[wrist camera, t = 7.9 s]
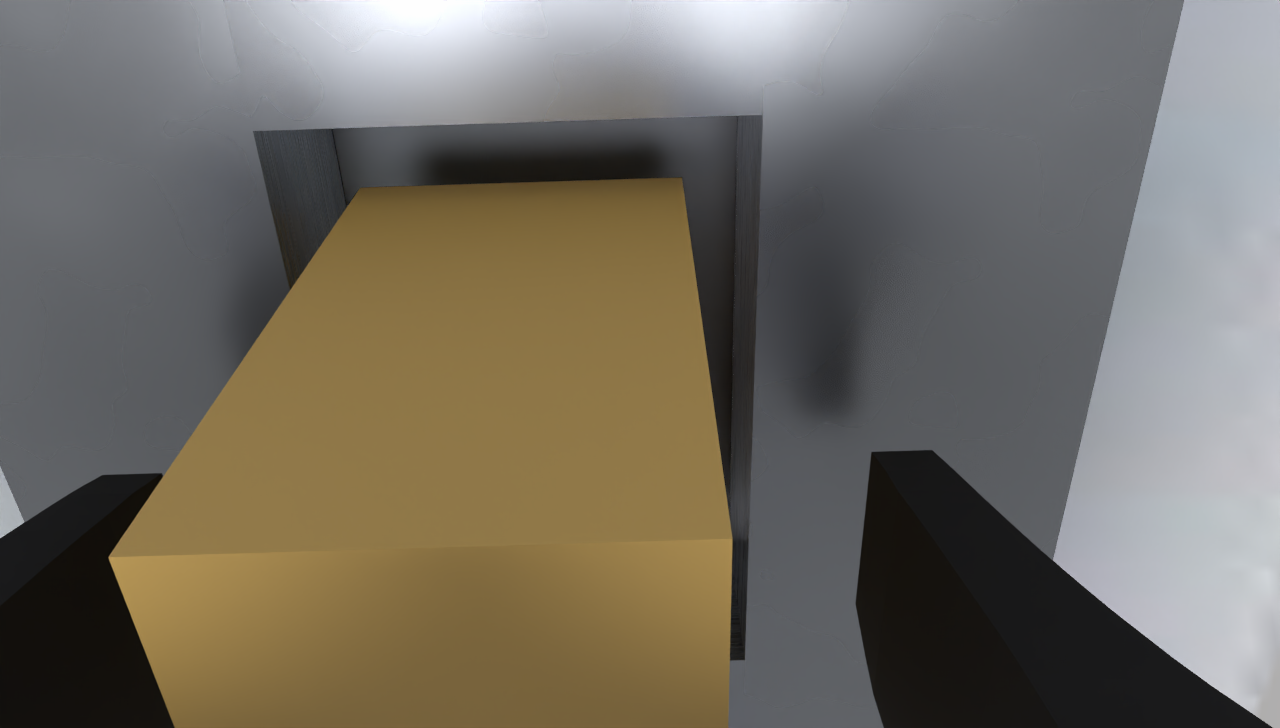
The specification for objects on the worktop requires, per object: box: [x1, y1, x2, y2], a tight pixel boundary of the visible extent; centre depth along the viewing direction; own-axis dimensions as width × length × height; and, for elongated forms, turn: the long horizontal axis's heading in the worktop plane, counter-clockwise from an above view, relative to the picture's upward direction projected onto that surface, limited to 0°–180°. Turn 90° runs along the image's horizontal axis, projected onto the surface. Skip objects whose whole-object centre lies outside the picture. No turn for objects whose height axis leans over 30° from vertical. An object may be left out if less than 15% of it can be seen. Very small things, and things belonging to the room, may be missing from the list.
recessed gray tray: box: [0, 0, 1184, 728], centre depth 12 cm, size 13×13×2 cm
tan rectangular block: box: [108, 177, 733, 728], centre depth 10 cm, size 6×4×8 cm, turn 2°
